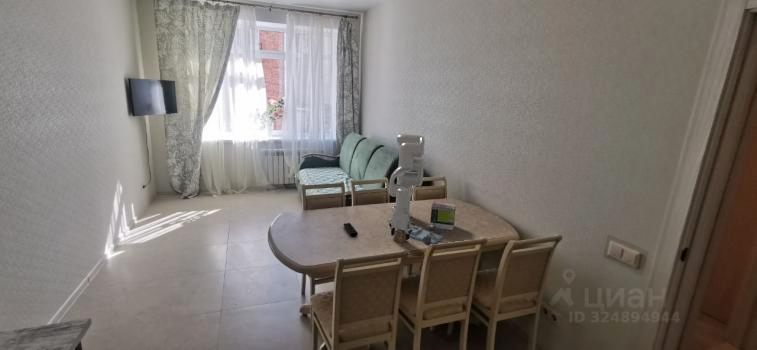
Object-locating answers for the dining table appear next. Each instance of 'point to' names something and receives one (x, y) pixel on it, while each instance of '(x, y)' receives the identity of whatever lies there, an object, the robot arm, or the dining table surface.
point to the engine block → (400, 236)
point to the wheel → (431, 228)
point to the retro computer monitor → (443, 215)
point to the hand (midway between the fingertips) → (400, 237)
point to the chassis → (425, 235)
